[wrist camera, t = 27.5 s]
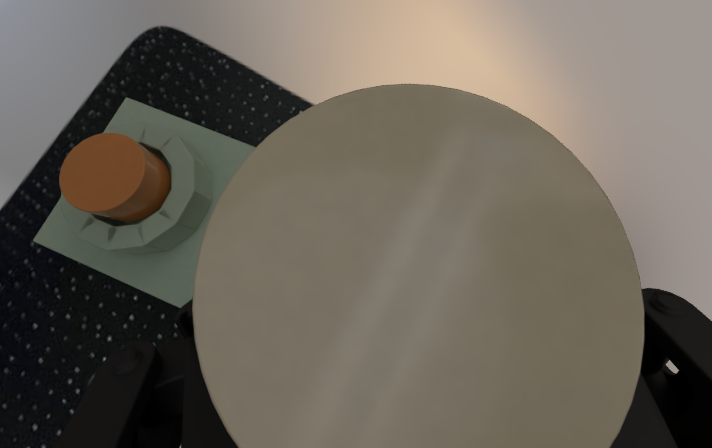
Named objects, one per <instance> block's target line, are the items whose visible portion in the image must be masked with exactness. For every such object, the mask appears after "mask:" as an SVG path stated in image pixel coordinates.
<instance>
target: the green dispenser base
mask: <svg viewBox="0 0 712 448" xmlns="http://www.w3.org/2000/svg"><path fill="white" fill-rule="evenodd" d="M103 133H118V134H122V135H125V136H128V137H130V138H131V139H133V140H134V141H136V142H137V143H139V144H140V145H142V146H143V147H145V148H146V149H148V150H149V151H151V152H152V153H154V154H155V155H157V156H158V157H159V158H161V159H162V160H163V161H164V163H165V164H166V166H167V167H168V170H169V172H170V178H171V184H170V190H169V193H168V195H167V197H166V199H165V201H164V202H163V204H162V205H161V206H160V207H159V208H158V209H157V210H156V211H155V212H154V213H152V214H151V215H149V216H148V217H146V218H143V219H141V220H138V221H133V222H120V221H116V220H112V219H109V218H105V217H102V216H99V215H95V214H92V213H88V212H85V211H82V210H79V209H77V208H75V207H74V206H72V205H71V204H70V203H69V202H68V201H67V200H66V199H65V197H64V196H63V194H62V191H61V198H60V200H59V201H58V203H57V204H56V206H55V207H54V209H53V210H52V212H51V214H50V215H49V217H48V218H47V220H46V221H45V223H44V224H43V226H42V227H41V229H40V230H39V232H38V233H37V235H36V237H35V238H34V240H33V241H34V242H36V243H38V244H40V245H43V246H45V247H47V248H49V249H51V250H54V251H56V252H58V253H60V254H62V255H65V256H67V257H69V258H71V259H73V260H75V261H78V262H80V263H82V264H84V265H86V266H89V267H91V268H93V269H95V270H97V271H100V272H102V273H104V274H106V275H108V276H111V277H113V278H115V279H117V280H119V281H122V282H124V283H126V284H128V285H130V286H133V287H135V288H137V289H139V290H141V291H143V292H146V293H148V294H150V295H152V296H154V297H157V298H159V299H161V300H163V301H165V302H168V303H170V304H172V305H174V306H176V307H179V308H181V307H182V306H183V305H184V304H186V303H187V302H189V301H190V300H191V299H193V285H194V275H195V270H196V264H197V258H198V253H199V249H200V245H201V242H202V239H203V236H204V233H205V229H206V226H207V223H208V221H209V219H210V216H211V214H212V212H213V210H214V208H215V205H216V203H217V201H218V199H219V197H220V195H221V194H222V192H223V190H224V189H225V187H226V186H227V184H228V182H229V181H230V179H231V177H232V176H233V174H234V173H235V172H236V171H237V169H238V168H239V167H240V166H241V164H242V163H243V162H244V161H245V159H246V158H247V157H248V156H249V154H250V153H251V152H252V151H253V150H254V149H255V148H256V147H253V146H251V145H248V144H245V143H243V142H240V141H238V140H235V139H232V138H230V137H227V136H225V135H222V134H220V133H217V132H214V131H212V130H209V129H207V128H204V127H202V126H199V125H196V124H194V123H191V122H189V121H186V120H184V119H181V118H178V117H176V116H173V115H171V114H168V113H166V112H163V111H160V110H158V109H155V108H153V107H150V106H148V105H145V104H142V103H140V102H137V101H135V100H132V99H130V98H125V100H124V101H123V103H122V105H121V106H120V108H119V109H118V111H117V112H116V114H115V115H114V117H113V118H112V120H111V121H110V123H109V125H108V126H107V128H106V129H105V131H104V132H103Z"/></svg>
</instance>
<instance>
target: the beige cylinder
mask: <svg viewBox="0 0 712 448" xmlns="http://www.w3.org/2000/svg"><path fill="white" fill-rule="evenodd" d="M192 312H193V325H194V337H195V344H196V349H197V353H198V358H199V363H200V368H201V372H202V375H203V378H204V380H205V383H206V386H207V389H208V392H209V395H210V397H211V400H212V403H213V405H214V407H215V409H216V411H217V413H218V414H219V416H220V418H221V420H222V422H223V424H224V426H225V428H226V430H227V432H228V433H229V435H230V436H231V438H232V439H233V441H234V442H235V443H236V445H237V446H238V448H610V447H611V445H612V443H613V442H614V440H615V438H616V437H617V435H618V434H619V432H620V430H621V427H622V425H623V423H624V420H625V418H626V416H627V413H628V411H629V409H630V406H631V404H632V401H633V397H634V394H635V390H636V386H637V383H638V379H639V375H640V371H641V363H642V355H643V347H644V304H643V297H642V289H641V283H640V277H639V273H638V269H637V266H636V262H635V258H634V254H633V251H632V248H631V245H630V243H629V240H628V238H627V236H626V233H625V230H624V228H623V225H622V223H621V221H620V219H619V217H618V216H617V214H616V212H615V210H614V208H613V206H612V204H611V203H610V201H609V199H608V197H607V196H606V194H605V193H604V191H603V190H602V189H601V187H600V186H599V184H598V183H597V182H596V180H595V179H594V177H593V176H592V175H591V173H590V172H589V171H588V170H587V169H586V168H585V167H584V165H583V164H582V163H581V162H580V161H579V160H578V159H577V158H576V157H575V156H574V154H573V153H572V152H571V151H570V150H569V149H567V148H566V147H565V146H564V145H563V144H562V143H560V141H558V140H557V139H556V138H555V137H554V136H553V135H552V134H550V133H549V132H547V131H546V130H544V129H543V128H542V127H540V126H539V125H537V124H536V123H535V122H533V121H532V120H530V119H529V118H527V117H525V116H523V115H521V114H520V113H518V112H516V111H514V110H512V109H511V108H509V107H507V106H505V105H502V104H500V103H497V102H495V101H492V100H490V99H488V98H485V97H483V96H479V95H476V94H472V93H469V92H465V91H462V90H458V89H452V88H447V87H441V86H435V85H419V84H398V85H382V86H376V87H371V88H366V89H360V90H356V91H353V92H349V93H346V94H343V95H339V96H336V97H333V98H331V99H328V100H326V101H324V102H322V103H319V104H317V105H315V106H312V107H310V108H309V109H307V110H305V111H303V112H302V113H300V114H298V115H297V116H295V117H293V118H292V119H290V120H288V121H287V122H286V123H284V124H283V125H282V126H281V127H279V128H278V129H277V130H275V131H274V132H273V133H271V134H270V135H269V136H268V137H267V138H266V139H265V140H264V141H263V142H261V143H260V144H259V145H258V146H257V147H256V148H255V149H254V150H253V151H252V152H251V153H250V154H249V156H248V157H247V158H246V159H245V161H244V162H243V163H242V164H241V166H240V167H239V168H238V169H237V171H236V172H235V173H234V174H233V176H232V177H231V179H230V181H229V182H228V184H227V186H226V187H225V189H224V190H223V192H222V194H221V195H220V197H219V199H218V201H217V203H216V205H215V208H214V210H213V212H212V214H211V216H210V219H209V221H208V223H207V226H206V229H205V233H204V236H203V239H202V242H201V245H200V249H199V253H198V258H197V264H196V270H195V275H194V285H193V305H192Z"/></svg>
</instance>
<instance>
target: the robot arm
mask: <svg viewBox="0 0 712 448" xmlns="http://www.w3.org/2000/svg"><path fill="white" fill-rule="evenodd" d="M642 297H643V304H644V347H643V355H642V363H641V371H640V375H639V379H638V383H637V386H636V390H635V394H634V397H633V401H632V404H631V406H630V409H629V411H628V413H627V416H626V418H625V420H624V423H623V425H622V427H621V430H620V432H619V434H618V435H617V437H616V438H615V440H614V442H613V443H612V445H611V447H610V448H712V321H711V320H710V319H708V318H707V317H706V316H705V315H704V314H703V313H702V312H700V311H699V310H698V309H697V308H696V307H695V306H693V305H692V304H691V303H689V302H688V301H686V300H685V299H683V298H681V297H679V296H677V295H675V294H673V293H670V292H667V291H663V290H660V289H652V288H646V289H642ZM192 305H193V299H191V300H190V301H189V302H187V303H186V304H184V305H183V306H182V307H181V308H180V310H179V311H178V312H177V314H176V316H175V319H174V321H175V323H176V325H177V326H178V328H179V330H180V331H181V333H182V335H183V336H184V338H183V339H181V340H179V341H176V342H173V343H170V344H168V345H165V346H162V347H159V348H156V347H155V346H154V344H153V343H151V342H149V341H147V340H142V341H135V342H132V343H129V344H126V345H125V346H123V347H121V348H119V349H118V350H116V351H115V352H114V353H112V354H111V355H110V356H109V357H108V358H107V359H106V360H105V361H104V363H103V364H102V365H101V366H100V368H99V370H98V371H97V373H96V375H95V377H94V378H93V380H92V382H91V384H90V385H89V387H88V389H87V391H86V392H85V394H84V396H83V398H82V399H81V401H80V403H79V404H78V406H77V408H76V410H75V411H74V413H73V415H72V417H71V418H70V420H69V422H68V424H67V425H66V427H65V429H64V431H63V432H62V434H61V436H60V438H59V439H58V441H57V443H56V444H55V446H54V448H179V447H180V443H181V440H182V446H181V448H238V446H237V445H236V443H235V442H234V441H233V439H232V438H231V436H230V435H229V433H228V432H227V430H226V428H225V426H224V424H223V422H222V420H221V418H220V416H219V414H218V413H217V411H216V409H215V407H214V405H213V403H212V400H211V397H210V395H209V392H208V389H207V386H206V383H205V380H204V378H203V375H202V372H201V368H200V363H199V358H198V353H197V349H196V344H195V337H194V325H193V312H192ZM669 360H670V361H671V362H672V363H673V364H674V365H675V366H676V367H677V369H678V370H679V371H678V373H677V374H675V373H673V372H672V371H671V370H670V369H669V368H668V367H667V366H666V365H665V364H666V363H667V362H668V361H669Z"/></svg>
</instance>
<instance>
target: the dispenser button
mask: <svg viewBox="0 0 712 448" xmlns="http://www.w3.org/2000/svg"><path fill="white" fill-rule="evenodd" d="M59 182H60V188H61V191H62V194H63V196H64V197H65V199H66V200H67V201H68V202H69V203H70V204H71V205H72V206H74V207H75V208H77V209H79V210H82V211H85V212H88V213H92V214H95V215H99V216H102V217H105V218H109V219H112V220H116V221H120V222H133V221H138V220H141V219H143V218H146V217H148V216H149V215H151V214H152V213H154V212H155V211H156V210H157V209H158V208H159V207H160V206H161V205H162V204H163V202H164V201H165V199H166V197H167V195H168V193H169V190H170V184H171V178H170V172H169V170H168V167H167V166H166V164H165V163H164V161H163V160H162V159H161V158H159V157H158V156H157V155H155V154H154V153H152V152H151V151H149V150H148V149H146V148H145V147H143V146H142V145H140V144H139V143H137V142H136V141H134V140H133V139H131V138H130V137H128V136H125V135H122V134H118V133H102V134H97V135H94V136H92V137H89V138H87V139H85V140H84V141H82V142H81V143H79V144H78V145H77V146H76V147H74V148H73V149H72V151H71V152H70V153H69V154H68V156H67V157H66V159H65V160H64V163H63V165H62V167H61V171H60V179H59Z"/></svg>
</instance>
